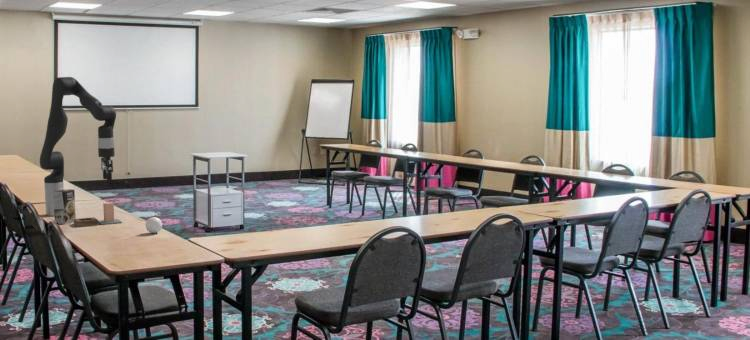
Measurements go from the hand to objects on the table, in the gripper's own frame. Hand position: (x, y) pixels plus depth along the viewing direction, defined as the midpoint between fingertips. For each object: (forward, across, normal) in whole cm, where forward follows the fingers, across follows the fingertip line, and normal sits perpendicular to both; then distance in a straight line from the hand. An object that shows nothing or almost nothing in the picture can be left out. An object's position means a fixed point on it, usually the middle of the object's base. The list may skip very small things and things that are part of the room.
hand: (107, 179), depth 392 cm
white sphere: (+21, +40, +10) cm, 47 cm away
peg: (+21, 0, 0) cm, 21 cm away
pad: (+21, 0, 0) cm, 21 cm away
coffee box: (+22, -12, -18) cm, 31 cm away
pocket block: (+21, 0, -11) cm, 24 cm away
